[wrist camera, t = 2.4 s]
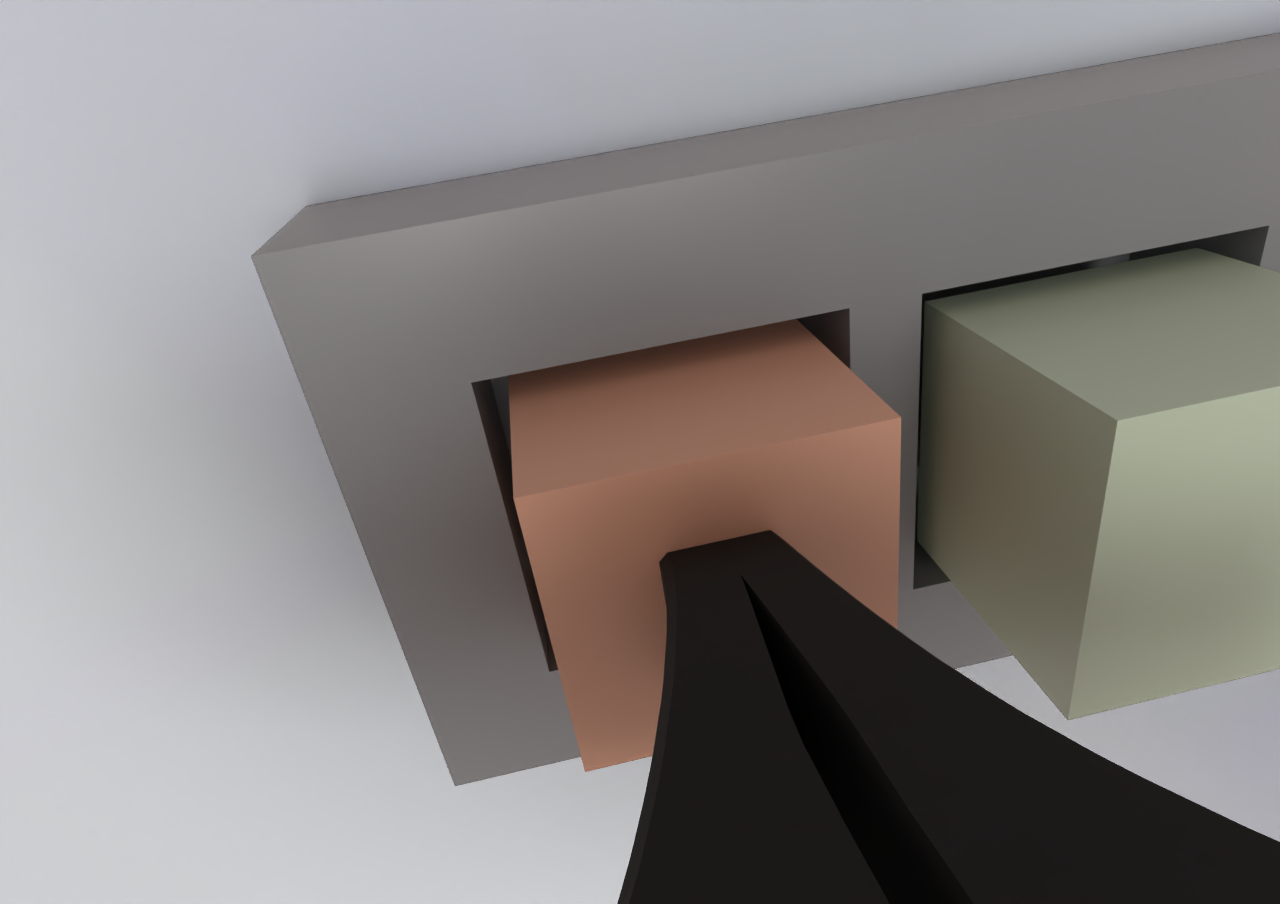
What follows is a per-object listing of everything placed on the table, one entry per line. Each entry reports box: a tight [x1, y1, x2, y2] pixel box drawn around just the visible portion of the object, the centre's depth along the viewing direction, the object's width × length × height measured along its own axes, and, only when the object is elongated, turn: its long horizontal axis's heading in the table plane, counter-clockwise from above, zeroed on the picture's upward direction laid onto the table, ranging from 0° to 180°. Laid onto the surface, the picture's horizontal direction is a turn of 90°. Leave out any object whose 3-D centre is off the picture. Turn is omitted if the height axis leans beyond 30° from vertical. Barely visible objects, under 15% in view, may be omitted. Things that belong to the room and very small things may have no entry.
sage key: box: [917, 248, 1280, 720], centre depth 11 cm, size 4×4×4 cm
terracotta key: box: [508, 319, 901, 772], centre depth 11 cm, size 4×4×4 cm
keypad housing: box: [251, 33, 1280, 786], centre depth 13 cm, size 21×9×3 cm, turn 98°
